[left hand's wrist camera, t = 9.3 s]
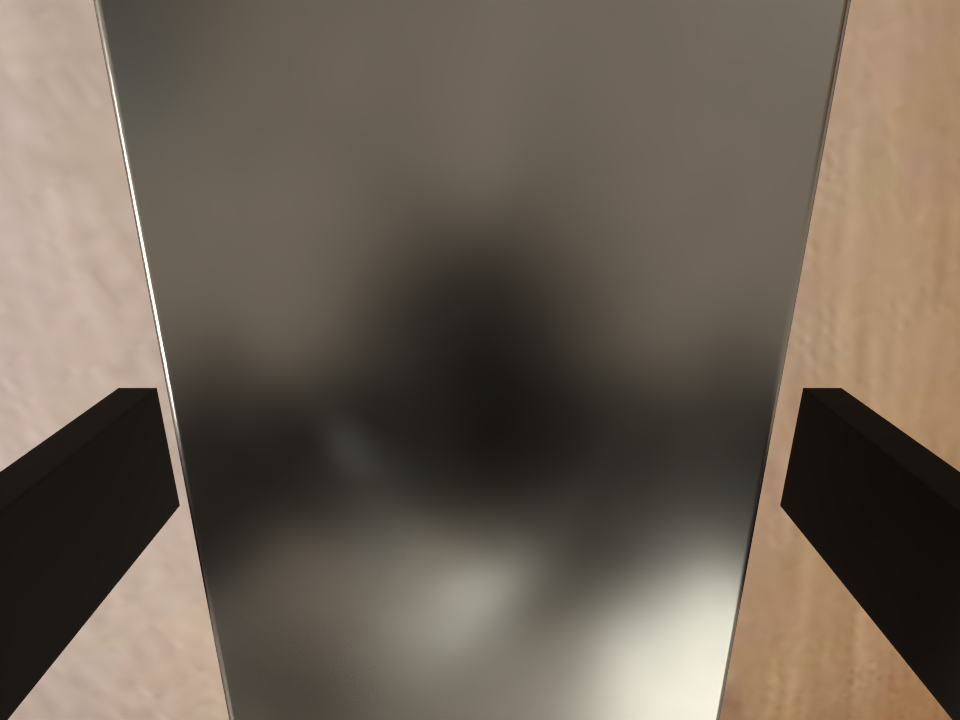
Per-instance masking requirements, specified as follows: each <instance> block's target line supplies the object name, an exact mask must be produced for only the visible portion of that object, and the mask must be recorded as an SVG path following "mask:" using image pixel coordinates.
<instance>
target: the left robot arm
mask: <svg viewBox="0 0 960 720" xmlns="http://www.w3.org/2000/svg"><path fill="white" fill-rule="evenodd" d="M179 506H180V505H179V500H178V495H177V489H176V484H175V479H174V474H173V469H172V464H171V459H170V454H169V449H168V443H167V438H166V433H165V428H164V423H163V418H162V413H161V408H160V403H159V397H158V392H157V388H118V389H117V390H115V391H114V392H112V393H111V394H110V395H108V396H107V397H105V398H104V399H103V400H101V401H100V402H98V403H97V404H96V405H94V406H93V407H91V408H90V409H89V410H87V411H86V412H84V413H83V414H81V415H80V416H79V417H77V418H76V419H74V420H73V421H72V422H70V423H69V424H67V425H66V426H65V427H63V428H62V429H60V430H59V431H57V432H56V433H55V434H53V435H52V436H50V437H49V438H48V439H46V440H45V441H43V442H42V443H41V444H39V445H38V446H36V447H35V448H34V449H32V450H31V451H29V452H28V453H26V454H25V455H24V456H22V457H21V458H19V459H18V460H17V461H15V462H14V463H12V464H11V465H10V466H8V467H7V468H5V469H4V470H2V471H1V472H0V720H8V718H9V717H10V716H11V715H12V713H13V712H14V711H15V710H16V708H17V707H18V706H19V705H20V704H21V702H22V701H23V700H24V699H25V697H26V696H27V695H28V694H29V692H30V691H31V690H32V689H33V687H34V686H35V685H36V684H37V682H38V681H39V680H40V679H41V677H42V676H43V675H44V674H45V672H46V671H47V670H48V669H49V667H50V666H51V665H52V664H53V662H54V661H55V660H56V659H57V657H58V656H59V655H60V654H61V653H62V651H63V650H64V649H65V648H66V646H67V645H68V644H69V643H70V641H71V640H72V639H73V638H74V636H75V635H76V634H77V633H78V631H79V630H80V629H81V628H82V626H83V625H84V624H85V623H86V621H87V620H88V619H89V618H90V616H91V615H92V614H93V613H94V611H95V610H96V609H97V608H98V606H99V605H100V604H101V603H102V602H103V600H104V599H105V598H106V597H107V595H108V594H109V593H110V592H111V590H112V589H113V588H114V587H115V585H116V584H117V583H118V582H119V580H120V579H121V578H122V577H123V575H124V574H125V573H126V572H127V570H128V569H129V568H130V567H131V565H132V564H133V563H134V562H135V560H136V559H137V558H138V557H139V555H140V554H141V553H142V552H143V551H144V549H145V548H146V547H147V546H148V544H149V543H150V542H151V541H152V539H153V538H154V537H155V536H156V534H157V533H158V532H159V531H160V529H161V528H162V527H163V526H164V524H165V523H166V522H167V521H168V519H169V518H170V517H171V516H172V514H173V513H174V512H175V511H176V509H177V508H178V507H179ZM780 506H781V507H782V508H783V509H784V511H785V512H786V513H787V514H788V516H789V517H790V518H791V519H792V521H793V522H794V523H795V524H796V526H797V527H798V528H799V529H800V531H801V532H802V533H803V534H804V536H805V537H806V538H807V539H808V541H809V542H810V543H811V544H812V546H813V547H814V548H815V549H816V551H817V552H818V553H819V554H820V555H821V557H822V558H823V559H824V560H825V562H826V563H827V564H828V565H829V567H830V568H831V569H832V570H833V572H834V573H835V574H836V575H837V577H838V578H839V579H840V580H841V582H842V583H843V584H844V585H845V587H846V588H847V589H848V590H849V592H850V593H851V594H852V595H853V597H854V598H855V599H856V600H857V602H858V603H859V604H860V605H861V607H862V608H863V609H864V610H865V611H866V613H867V614H868V615H869V616H870V618H871V619H872V620H873V621H874V623H875V624H876V625H877V626H878V628H879V629H880V630H881V631H882V633H883V634H884V635H885V636H886V638H887V639H888V640H889V641H890V643H891V644H892V645H893V646H894V648H895V649H896V650H897V651H898V653H899V654H900V655H901V656H902V658H903V659H904V660H905V661H906V662H907V664H908V665H909V666H910V667H911V669H912V670H913V671H914V672H915V674H916V675H917V676H918V677H919V679H920V680H921V681H922V682H923V684H924V685H925V686H926V687H927V689H928V690H929V691H930V692H931V694H932V695H933V696H934V697H935V699H936V700H937V701H938V702H939V704H940V705H941V706H942V707H943V709H944V710H945V711H946V712H947V713H948V715H949V716H950V717H951V718H952V720H960V472H959V471H957V470H956V469H955V468H953V467H952V466H950V465H949V464H948V463H946V462H945V461H943V460H942V459H941V458H939V457H938V456H936V455H935V454H934V453H932V452H931V451H929V450H928V449H926V448H925V447H924V446H922V445H921V444H919V443H918V442H917V441H915V440H914V439H912V438H911V437H910V436H908V435H907V434H905V433H904V432H902V431H901V430H900V429H898V428H897V427H895V426H894V425H893V424H891V423H890V422H888V421H887V420H886V419H884V418H883V417H881V416H880V415H879V414H877V413H876V412H874V411H873V410H871V409H870V408H869V407H867V406H866V405H864V404H863V403H862V402H860V401H859V400H857V399H856V398H855V397H853V396H852V395H850V394H849V393H847V392H846V391H845V390H843V389H842V388H803V392H802V397H801V402H800V408H799V413H798V418H797V423H796V428H795V433H794V438H793V443H792V448H791V454H790V459H789V464H788V469H787V474H786V479H785V484H784V489H783V494H782V500H781V505H780Z"/></svg>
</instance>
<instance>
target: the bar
mask: <svg viewBox="0 0 960 720" xmlns="http://www.w3.org/2000/svg"><path fill="white" fill-rule="evenodd" d="M850 2H851V0H94V5H95V11H96V16H97V21H98V27H99V32H100V37H101V42H102V48H103V53H104V58H105V64H106V69H107V74H108V79H109V85H110V90H111V95H112V101H113V106H114V111H115V117H116V122H117V127H118V132H119V138H120V143H121V148H122V154H123V159H124V164H125V169H126V175H127V180H128V185H129V191H130V196H131V201H132V206H133V212H134V217H135V222H136V228H137V233H138V238H139V244H140V249H141V254H142V259H143V265H144V270H145V275H146V281H147V286H148V291H149V296H150V302H151V307H152V312H153V318H154V323H155V328H156V333H157V339H158V344H159V349H160V355H161V360H162V365H163V370H164V376H165V381H166V386H167V392H168V397H169V402H170V408H171V413H172V418H173V423H174V429H175V434H176V439H177V445H178V450H179V455H180V460H181V466H182V471H183V476H184V482H185V487H186V492H187V497H188V503H189V508H190V513H191V519H192V524H193V529H194V535H195V540H196V545H197V550H198V556H199V561H200V566H201V572H202V577H203V582H204V587H205V593H206V598H207V603H208V609H209V614H210V619H211V624H212V630H213V635H214V640H215V646H216V651H217V656H218V661H219V667H220V672H221V677H222V683H223V688H224V693H225V699H226V704H227V709H228V714H229V720H719V717H720V712H721V706H722V701H723V696H724V690H725V685H726V679H727V674H728V668H729V663H730V657H731V652H732V646H733V641H734V635H735V630H736V625H737V619H738V614H739V608H740V603H741V597H742V592H743V586H744V581H745V575H746V570H747V564H748V559H749V554H750V548H751V543H752V537H753V532H754V526H755V521H756V515H757V510H758V504H759V499H760V493H761V488H762V483H763V477H764V472H765V466H766V461H767V455H768V450H769V444H770V439H771V433H772V428H773V422H774V417H775V412H776V406H777V401H778V395H779V390H780V384H781V379H782V373H783V368H784V362H785V357H786V351H787V346H788V341H789V335H790V330H791V324H792V319H793V313H794V308H795V302H796V297H797V291H798V286H799V280H800V275H801V270H802V264H803V259H804V253H805V248H806V242H807V237H808V231H809V226H810V220H811V215H812V209H813V204H814V199H815V193H816V188H817V182H818V177H819V171H820V166H821V160H822V155H823V149H824V144H825V138H826V133H827V128H828V122H829V117H830V111H831V106H832V100H833V95H834V89H835V84H836V78H837V73H838V67H839V62H840V57H841V51H842V46H843V40H844V35H845V29H846V24H847V18H848V13H849V7H850Z"/></svg>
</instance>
